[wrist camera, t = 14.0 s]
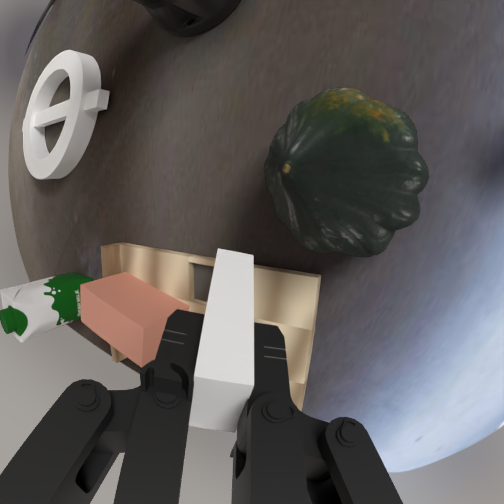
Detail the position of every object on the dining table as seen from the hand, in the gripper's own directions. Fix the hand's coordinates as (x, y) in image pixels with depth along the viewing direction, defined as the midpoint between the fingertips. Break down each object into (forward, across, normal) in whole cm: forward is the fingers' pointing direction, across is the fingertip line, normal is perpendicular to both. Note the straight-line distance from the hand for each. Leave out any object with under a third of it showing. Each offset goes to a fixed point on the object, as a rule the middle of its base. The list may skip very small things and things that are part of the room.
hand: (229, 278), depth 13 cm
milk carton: (+33, -26, -32) cm, 53 cm away
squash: (+20, +12, +2) cm, 23 cm away
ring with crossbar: (+49, -40, -1) cm, 63 cm away
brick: (+24, -9, -23) cm, 34 cm away
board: (+21, -1, -23) cm, 31 cm away
